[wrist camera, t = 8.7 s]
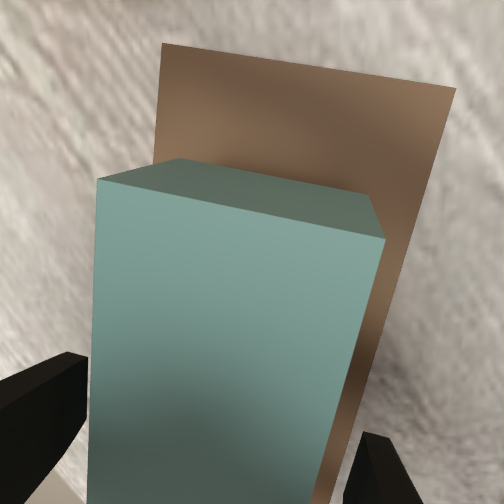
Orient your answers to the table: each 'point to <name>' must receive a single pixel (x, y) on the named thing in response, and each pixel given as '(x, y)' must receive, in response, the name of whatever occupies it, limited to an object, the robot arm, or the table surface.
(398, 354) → the table surface
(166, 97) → the peg rack
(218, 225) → the teal rectangular block
